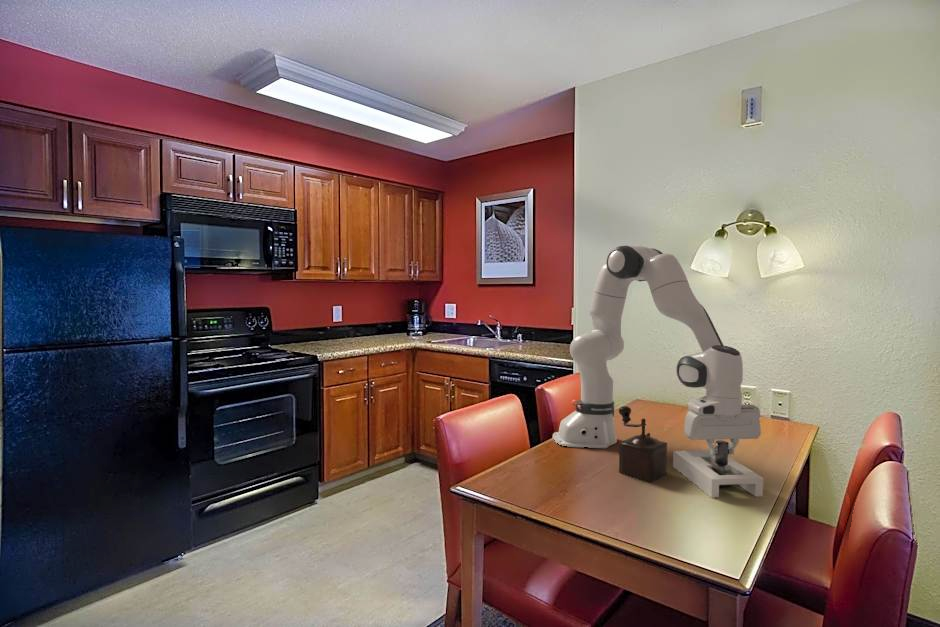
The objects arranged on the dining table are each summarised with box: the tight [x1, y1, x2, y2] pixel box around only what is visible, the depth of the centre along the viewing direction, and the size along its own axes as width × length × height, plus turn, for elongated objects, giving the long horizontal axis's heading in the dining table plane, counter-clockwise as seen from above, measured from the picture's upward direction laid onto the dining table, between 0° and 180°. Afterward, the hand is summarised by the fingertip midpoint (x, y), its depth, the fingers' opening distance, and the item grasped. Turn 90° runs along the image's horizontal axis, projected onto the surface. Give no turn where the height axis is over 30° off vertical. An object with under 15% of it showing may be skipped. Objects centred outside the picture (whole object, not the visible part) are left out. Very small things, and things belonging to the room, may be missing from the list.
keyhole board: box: [672, 449, 764, 499], centre depth 145 cm, size 14×22×5 cm, turn 3°
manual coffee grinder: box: [618, 405, 668, 483], centre depth 152 cm, size 16×11×18 cm
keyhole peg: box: [715, 439, 732, 487], centre depth 141 cm, size 5×5×12 cm
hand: (721, 454), depth 141 cm, fingers closed on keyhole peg, 3 cm apart
